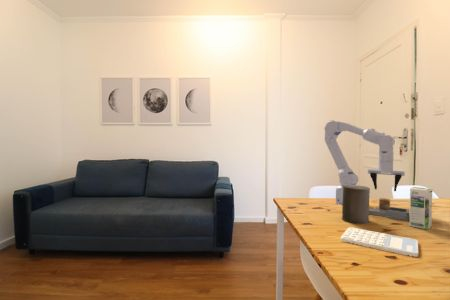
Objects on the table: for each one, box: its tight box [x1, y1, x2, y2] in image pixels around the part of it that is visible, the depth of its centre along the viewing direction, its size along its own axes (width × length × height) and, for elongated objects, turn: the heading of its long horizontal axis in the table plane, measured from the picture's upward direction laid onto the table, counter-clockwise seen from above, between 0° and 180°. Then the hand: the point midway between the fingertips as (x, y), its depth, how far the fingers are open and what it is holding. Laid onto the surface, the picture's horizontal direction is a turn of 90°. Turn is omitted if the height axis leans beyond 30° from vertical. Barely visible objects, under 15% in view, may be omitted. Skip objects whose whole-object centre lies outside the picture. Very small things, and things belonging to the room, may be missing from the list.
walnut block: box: [378, 197, 391, 210], centre depth 120 cm, size 4×4×4 cm
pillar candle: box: [341, 183, 371, 225], centre depth 103 cm, size 10×10×15 cm
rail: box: [369, 206, 410, 222], centre depth 110 cm, size 18×8×4 cm, turn 54°
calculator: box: [340, 226, 419, 258], centre depth 81 cm, size 13×20×2 cm, turn 53°
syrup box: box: [409, 186, 433, 231], centre depth 96 cm, size 6×6×14 cm
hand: (385, 190), depth 120 cm, fingers open, 7 cm apart
